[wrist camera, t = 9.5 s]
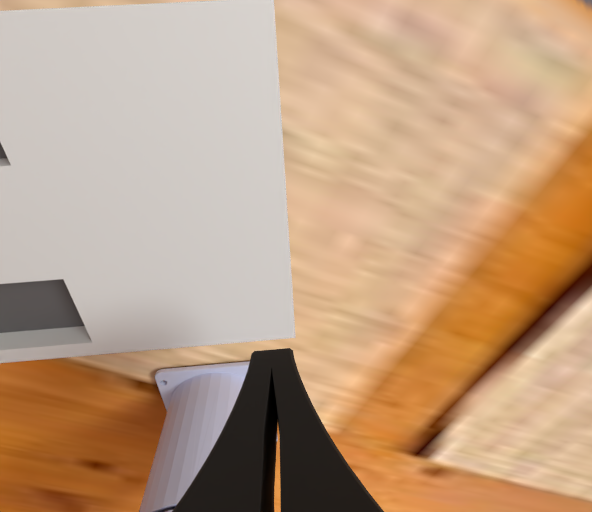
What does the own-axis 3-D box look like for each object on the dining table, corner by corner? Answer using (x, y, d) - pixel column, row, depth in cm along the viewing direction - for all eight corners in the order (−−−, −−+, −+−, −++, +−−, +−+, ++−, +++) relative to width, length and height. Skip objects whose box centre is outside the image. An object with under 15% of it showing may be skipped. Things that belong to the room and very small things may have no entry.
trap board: (293, 316, 23) (298, 369, 19) (-112, 350, 22) (-193, 413, 18) (272, 4, 15) (274, -15, 11) (-385, 37, 14) (-644, 28, 10)
